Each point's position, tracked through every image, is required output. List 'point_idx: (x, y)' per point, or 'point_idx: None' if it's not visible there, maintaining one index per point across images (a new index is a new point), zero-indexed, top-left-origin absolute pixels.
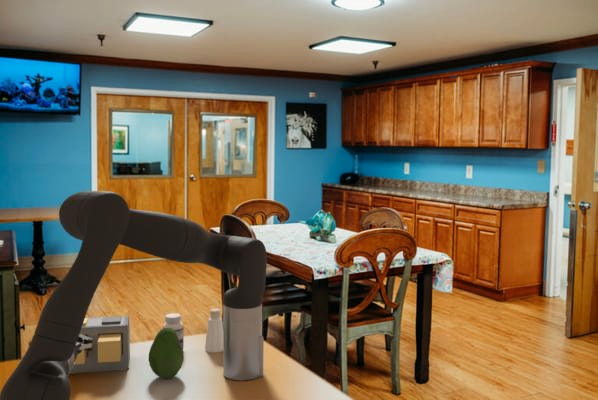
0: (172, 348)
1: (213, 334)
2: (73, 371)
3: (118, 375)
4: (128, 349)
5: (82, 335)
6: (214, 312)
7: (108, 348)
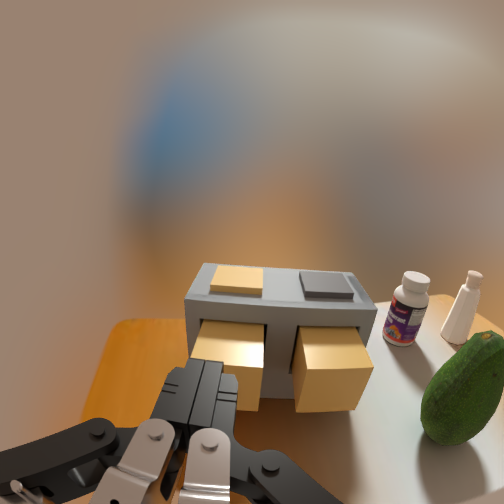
0: (500, 393)
1: (468, 316)
2: None
3: (333, 423)
4: None
5: (316, 493)
6: (479, 279)
7: (335, 385)
